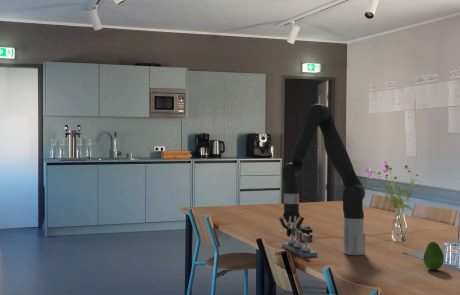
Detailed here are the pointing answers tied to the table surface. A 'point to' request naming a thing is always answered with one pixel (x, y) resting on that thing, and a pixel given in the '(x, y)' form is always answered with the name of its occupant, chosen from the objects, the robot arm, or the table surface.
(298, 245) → the knob mid
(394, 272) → the table surface
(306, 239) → the knob near
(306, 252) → the level plate
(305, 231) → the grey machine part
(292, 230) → the knob far
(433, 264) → the avocado
